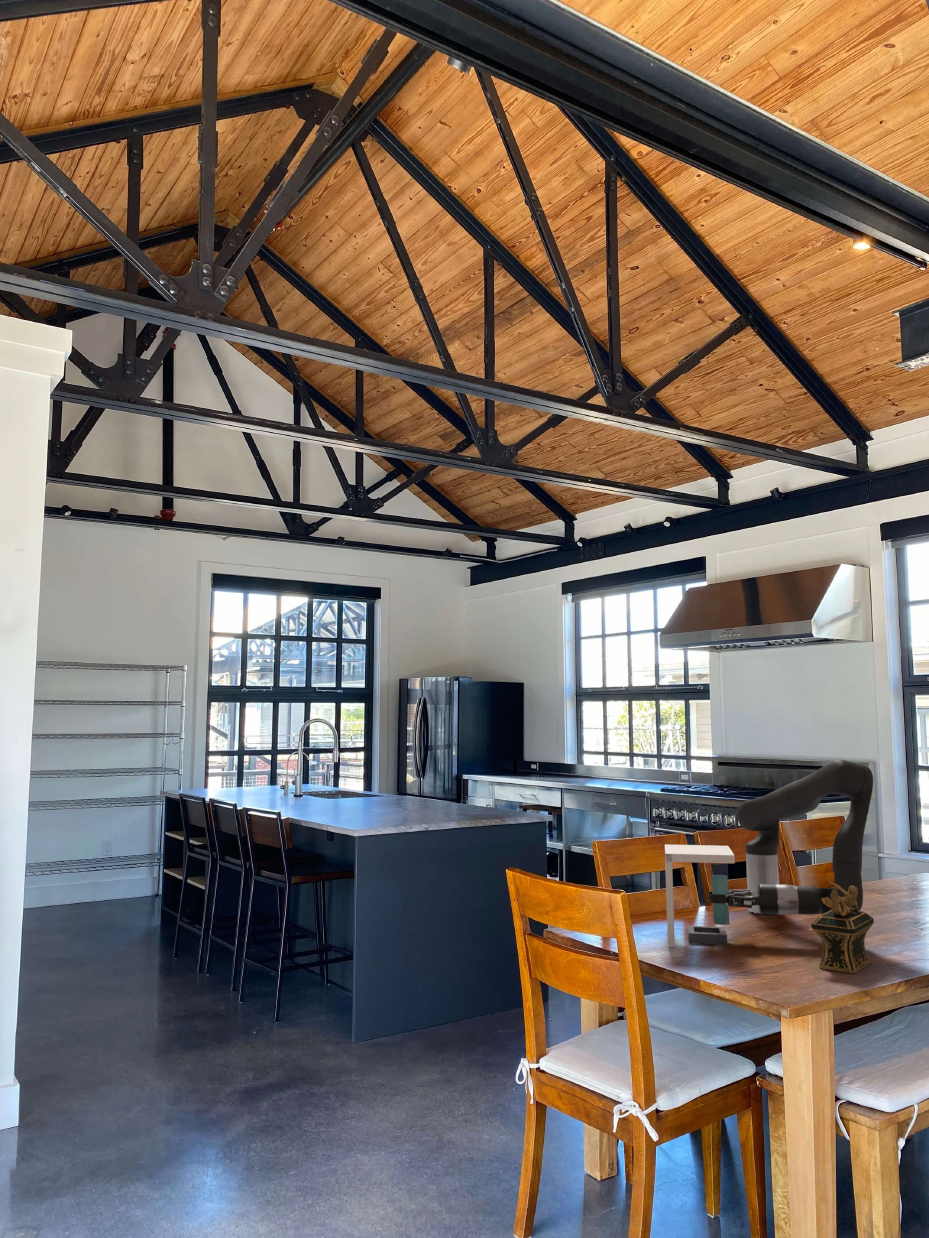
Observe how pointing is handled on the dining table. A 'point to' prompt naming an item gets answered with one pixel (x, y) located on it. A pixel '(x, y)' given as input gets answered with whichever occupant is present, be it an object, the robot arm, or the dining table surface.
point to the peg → (718, 909)
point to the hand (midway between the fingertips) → (709, 897)
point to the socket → (707, 935)
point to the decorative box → (843, 932)
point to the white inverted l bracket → (689, 855)
